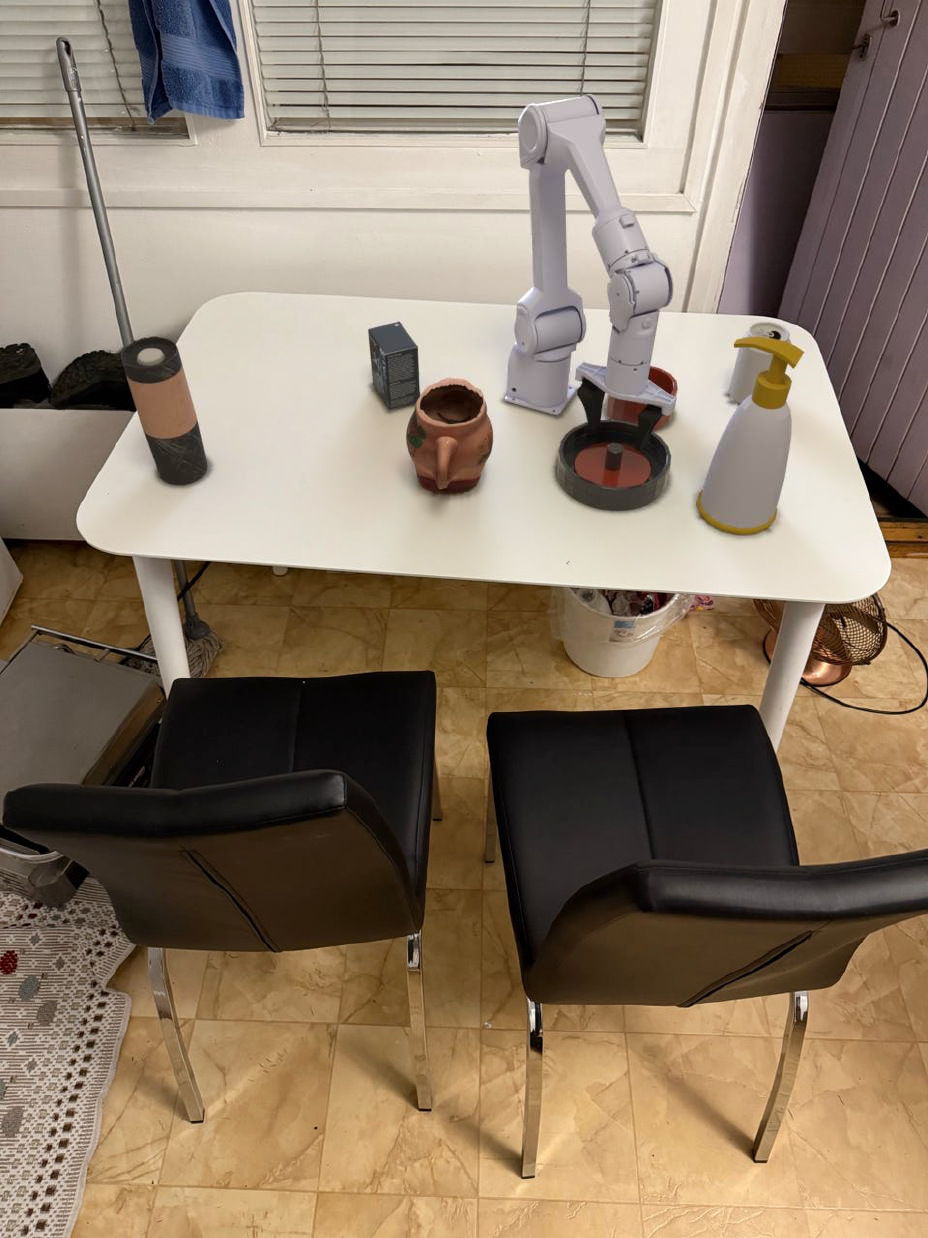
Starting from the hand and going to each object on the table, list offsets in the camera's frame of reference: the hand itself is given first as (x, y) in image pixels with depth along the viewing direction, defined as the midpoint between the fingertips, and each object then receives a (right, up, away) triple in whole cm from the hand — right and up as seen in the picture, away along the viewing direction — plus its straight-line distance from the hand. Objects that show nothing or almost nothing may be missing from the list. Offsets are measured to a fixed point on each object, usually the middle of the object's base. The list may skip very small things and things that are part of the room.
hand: (617, 437), depth 131 cm
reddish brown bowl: (+6, +7, +15) cm, 18 cm away
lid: (0, -4, +4) cm, 6 cm away
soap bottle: (+17, -10, 0) cm, 20 cm away
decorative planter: (-24, -6, +4) cm, 25 cm away
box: (-33, +11, +19) cm, 39 cm away
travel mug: (-64, -4, +6) cm, 64 cm away
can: (+25, +10, +18) cm, 32 cm away
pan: (0, -5, +5) cm, 7 cm away
